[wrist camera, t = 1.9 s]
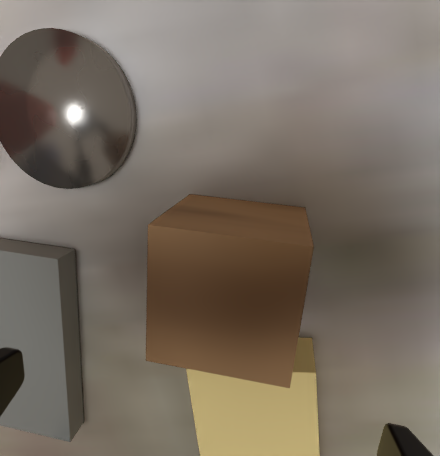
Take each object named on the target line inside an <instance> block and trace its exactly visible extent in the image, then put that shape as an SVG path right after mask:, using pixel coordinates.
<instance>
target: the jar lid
mask: <svg viewBox="0 0 440 456" xmlns="http://www.w3.org/2000/svg"><path fill="white" fill-rule="evenodd" d="M136 122H137V117H136V106H135V100H134V96H133V93H132V89H131V87H130V85H129V82H128V80H127V78H126V76H125V74H124V72H123V71H122V69H121V68H120V66H119V65H118V64H117V62H116V61H115V60H114V59H113V58H112V57H111V55H110V54H109V53H108V52H106V51H105V50H104V49H103V48H102V47H100V46H99V45H97V44H96V43H94V42H92V41H91V40H88V39H86V38H84V37H82V36H79V35H77V34H75V33H72V32H69V31H66V30H62V29H55V28H44V29H38V30H33V31H31V32H28V33H25V34H24V35H22V36H20V37H19V38H17V39H16V40H15V41H13V42H12V43H11V44H10V45H9V46H8V47H7V48H6V50H5V51H4V52H3V54H2V55H1V57H0V141H1V143H2V145H3V147H4V148H5V150H6V151H7V153H8V154H9V156H10V157H11V158H12V159H13V161H14V162H15V163H16V164H17V165H18V166H19V167H20V168H21V169H22V170H23V171H25V172H26V173H27V174H28V175H30V176H31V177H33V178H34V179H36V180H38V181H40V182H42V183H44V184H47V185H50V186H53V187H58V188H66V189H73V188H80V187H84V186H88V185H91V184H95V183H97V182H100V181H102V180H104V179H106V178H107V177H109V176H111V175H112V174H113V173H114V172H115V171H117V170H118V168H119V167H120V166H121V165H122V164H123V162H124V161H125V159H126V158H127V156H128V154H129V152H130V150H131V148H132V145H133V142H134V138H135V132H136Z"/></svg>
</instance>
